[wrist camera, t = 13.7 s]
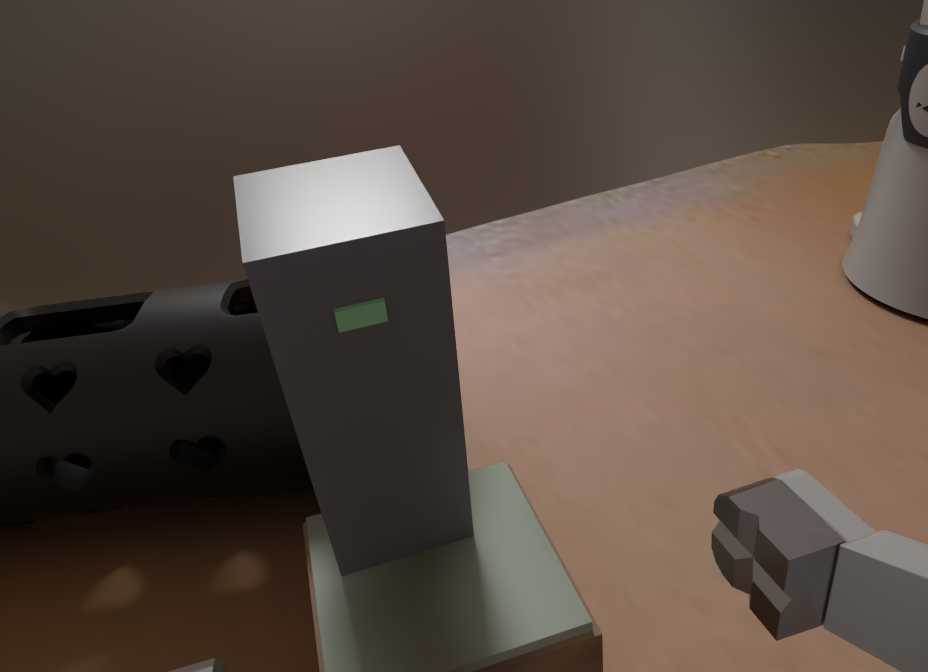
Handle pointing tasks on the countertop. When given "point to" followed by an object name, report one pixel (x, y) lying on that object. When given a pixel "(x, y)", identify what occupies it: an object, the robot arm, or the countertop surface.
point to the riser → (457, 598)
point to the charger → (363, 347)
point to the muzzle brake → (140, 403)
